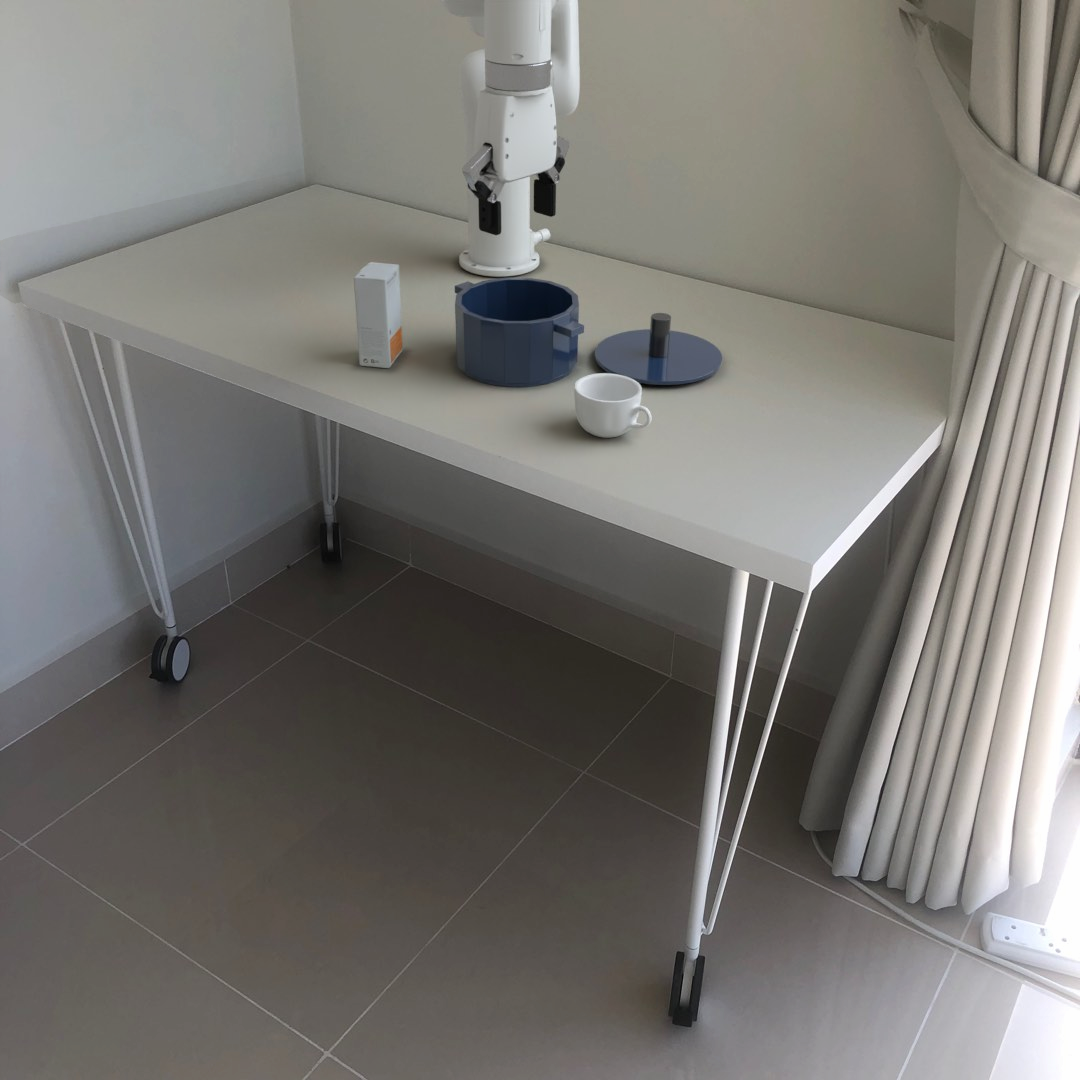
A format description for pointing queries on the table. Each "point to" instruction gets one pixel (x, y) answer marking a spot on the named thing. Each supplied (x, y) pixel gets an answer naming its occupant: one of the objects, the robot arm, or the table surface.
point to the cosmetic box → (378, 314)
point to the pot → (516, 331)
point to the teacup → (609, 404)
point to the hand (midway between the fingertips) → (517, 223)
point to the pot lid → (659, 354)
